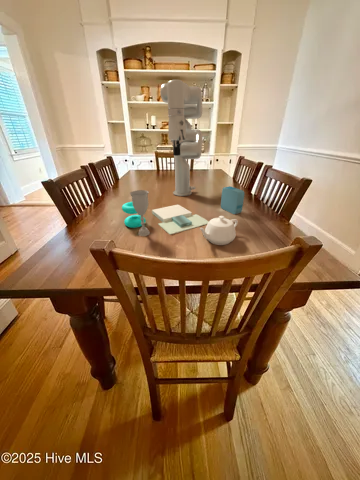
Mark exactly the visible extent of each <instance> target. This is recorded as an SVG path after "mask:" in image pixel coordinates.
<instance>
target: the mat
mask: <svg viewBox="0 0 360 480" xmlns="http://www.w3.org/2000/svg"><path fill="white" fill-rule="evenodd" d="M186 218H187V219H189V220H190V221H192V225H189V226H185V227H181V228H180V227H179V226H178V225H177V224H176V223H174V222H173V221H172V220H171V221H167V222H159V223H157V225H158V226H159V227H160V228H161V229H163V230H164V231H165V232H166V233H167V234H168V235H170V236H171V235H173V234H177V233H181V232H184V231H189V230H191V229H196V228H199V227H202V226H207V224H208V222H209V221H210V220H207V219H206V218H204V217H203V216H200V215H199V214H197V213H196V214H192V215H191V216H187V217H186Z"/></svg>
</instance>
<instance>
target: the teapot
mask: <svg viewBox="0 0 360 480" xmlns="http://www.w3.org/2000/svg"><path fill="white" fill-rule="evenodd" d="M208 221H209V222H208V224H206V225H205V228H204V227H200V228H199V231H201V233H202V234H203V237H204V239H206V240H207V241H208V242H209V243H210V244H212V245H216V246H226V245H229V244H230V243H231V242H233V241H234V240H235V239H236V237H237V236H236V235H237V234H236V233H237V232H236V227H237V226H238V223H239V221H238V219H236V218H232V219H230V218H226V217H225V216H224V215H219V216H218V217H214V218H211V219H210V220H208Z"/></svg>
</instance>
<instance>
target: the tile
mask: <svg viewBox="0 0 360 480" xmlns="http://www.w3.org/2000/svg"><path fill="white" fill-rule="evenodd" d="M172 221H173V222H174V223H176V224H177V225H178V226H179V227H180V228H181V227H185V226H189V225H192V221H190V220H189V219H187V218H186V217H185V216H183V215H181V216H177V217H172Z"/></svg>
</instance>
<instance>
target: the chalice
mask: <svg viewBox="0 0 360 480" xmlns="http://www.w3.org/2000/svg"><path fill="white" fill-rule="evenodd" d="M149 193H150V192H149V191H148V190H146V189H139V190H133V191H131V192H129V195H130V197H131V200H132V201H131V202H132V203H133V207H134V209H135V210H136V212H137V215H141V219H140V220H141V221H142V222H141V224H142V226H141V227H139V230H138V234H137V235H138V236H140V237H147V236H149V235H150V234H151V232H150V230H149V228H147V227H146V226H145V225H146V223H145V222H144V218H145V217H144V216H145V214H146V213H147V210H148V207H149V196H148V195H149Z"/></svg>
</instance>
